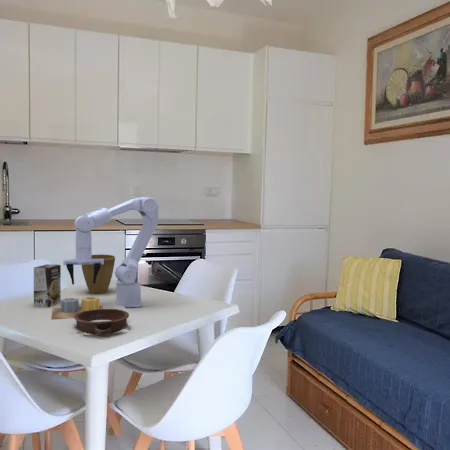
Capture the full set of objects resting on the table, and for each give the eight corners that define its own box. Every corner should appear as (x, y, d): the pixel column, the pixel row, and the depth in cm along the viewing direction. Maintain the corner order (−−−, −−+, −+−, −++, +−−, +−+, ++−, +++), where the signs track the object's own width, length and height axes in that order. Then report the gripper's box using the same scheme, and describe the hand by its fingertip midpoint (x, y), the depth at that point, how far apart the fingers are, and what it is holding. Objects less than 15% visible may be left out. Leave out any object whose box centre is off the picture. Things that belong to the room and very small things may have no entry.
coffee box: (48, 310, 181) (48, 268, 179) (33, 309, 182) (32, 267, 181) (61, 305, 190) (61, 264, 188) (46, 304, 191) (46, 263, 190)
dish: (123, 318, 172) (123, 305, 172) (134, 336, 152) (134, 321, 152) (71, 322, 166) (71, 308, 166) (76, 341, 146) (76, 325, 145)
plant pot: (82, 289, 220) (82, 254, 218) (115, 288, 222) (115, 254, 221) (78, 296, 205) (78, 259, 204) (114, 295, 208) (114, 258, 207)
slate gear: (78, 308, 181) (78, 297, 180) (78, 312, 175) (78, 301, 174) (60, 309, 179) (60, 298, 178) (60, 313, 173) (60, 302, 173)
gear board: (102, 308, 185) (102, 294, 185) (105, 319, 170) (105, 303, 170) (52, 311, 180) (52, 296, 179) (51, 322, 164) (51, 306, 164)
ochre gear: (98, 306, 183) (98, 296, 183) (99, 310, 177) (99, 300, 177) (81, 307, 181) (81, 297, 181) (82, 311, 175) (82, 300, 175)
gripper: (63, 249, 176) (63, 286, 177) (104, 248, 181) (104, 284, 181) (63, 247, 183) (63, 282, 184) (102, 246, 187) (102, 281, 188)
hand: (83, 283), depth 183 cm, fingers open, 7 cm apart
